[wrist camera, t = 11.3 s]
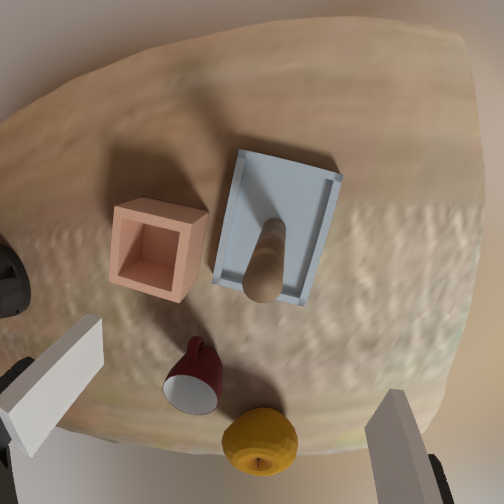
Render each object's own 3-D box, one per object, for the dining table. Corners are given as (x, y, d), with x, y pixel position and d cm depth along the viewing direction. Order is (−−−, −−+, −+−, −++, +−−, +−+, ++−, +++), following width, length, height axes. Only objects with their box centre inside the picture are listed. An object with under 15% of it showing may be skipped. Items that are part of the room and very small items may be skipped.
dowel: (260, 237, 41) (238, 297, 23) (265, 215, 40) (246, 261, 23) (282, 243, 40) (276, 307, 23) (288, 221, 39) (287, 271, 22)
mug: (174, 322, 47) (150, 358, 38) (223, 320, 46) (208, 359, 37) (188, 374, 50) (171, 413, 41) (234, 374, 49) (223, 416, 39)
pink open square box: (135, 261, 45) (109, 281, 37) (143, 196, 42) (114, 206, 34) (197, 279, 44) (179, 303, 37) (209, 211, 41) (191, 224, 34)
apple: (264, 446, 54) (258, 490, 43) (215, 415, 53) (202, 460, 42) (313, 419, 51) (314, 467, 40) (263, 384, 49) (256, 434, 38)
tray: (304, 299, 43) (304, 306, 41) (215, 277, 44) (211, 283, 42) (340, 174, 38) (343, 175, 36) (241, 149, 38) (239, 149, 36)
